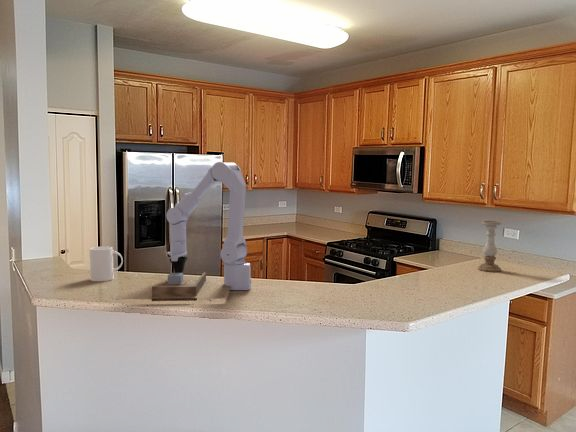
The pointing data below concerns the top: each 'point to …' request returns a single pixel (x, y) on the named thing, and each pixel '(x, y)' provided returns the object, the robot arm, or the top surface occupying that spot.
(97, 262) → the mug
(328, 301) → the top surface
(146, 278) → the top surface
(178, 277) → the block
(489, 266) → the candle holder
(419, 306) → the top surface
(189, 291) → the board
